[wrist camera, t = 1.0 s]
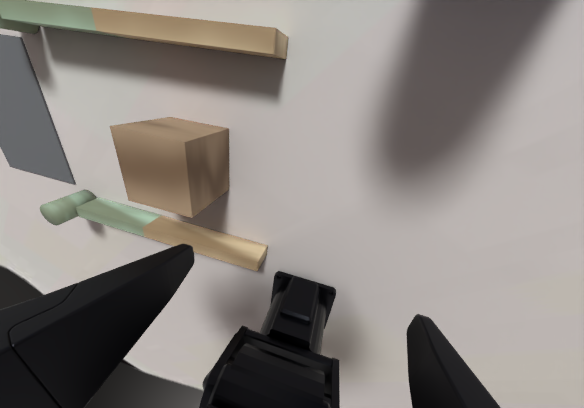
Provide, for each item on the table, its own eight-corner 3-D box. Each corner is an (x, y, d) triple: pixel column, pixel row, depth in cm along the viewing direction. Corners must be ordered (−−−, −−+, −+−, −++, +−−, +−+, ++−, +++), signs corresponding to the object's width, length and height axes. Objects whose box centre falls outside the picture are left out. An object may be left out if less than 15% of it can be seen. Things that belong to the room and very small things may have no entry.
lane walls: (266, 258, 24) (250, 287, 20) (84, 205, 28) (45, 221, 24) (289, 25, 14) (266, 4, 11) (8, -5, 18) (-75, -27, 15)
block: (229, 188, 21) (192, 218, 16) (178, 176, 22) (128, 200, 17) (229, 128, 18) (184, 142, 14) (170, 117, 19) (109, 126, 14)
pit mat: (83, 181, 27) (74, 184, 26) (20, 164, 29) (10, 166, 28) (34, 39, 20) (19, 37, 19) (-45, 27, 22) (-61, 25, 21)
